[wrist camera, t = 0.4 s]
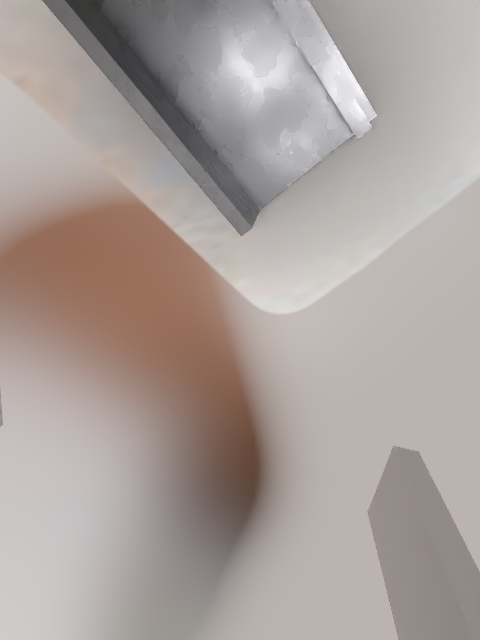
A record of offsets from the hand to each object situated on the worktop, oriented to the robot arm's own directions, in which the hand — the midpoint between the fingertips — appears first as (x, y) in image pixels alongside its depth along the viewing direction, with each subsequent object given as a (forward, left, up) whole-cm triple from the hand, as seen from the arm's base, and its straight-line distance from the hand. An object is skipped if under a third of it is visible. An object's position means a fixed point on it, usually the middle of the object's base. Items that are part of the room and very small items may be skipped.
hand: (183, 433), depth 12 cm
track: (-4, -11, -28) cm, 30 cm away
